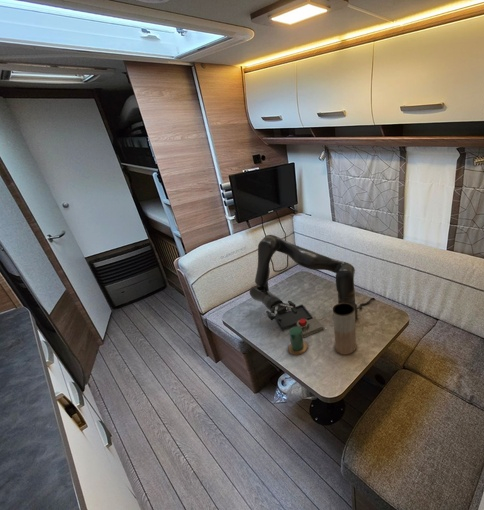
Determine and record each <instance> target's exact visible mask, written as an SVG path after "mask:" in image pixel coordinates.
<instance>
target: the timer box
mask: <svg viewBox="0 0 484 510" xmlns="http://www.w3.org/2000/svg"><path fill="white" fill-rule="evenodd" d="M305 320H306V319H305ZM296 327H300V328H301V329H302V335H303V338H307V337H309V336H312V335H314V334H316V333H319V332H321V331H323V330H324V325H322V323H321V322H320V321H319V320H318V318H317V317H312V319H310V320H306V324H305V325H300V324H299V321H298V322H297V325H296Z"/></svg>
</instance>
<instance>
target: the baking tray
mask: <svg viewBox="0 0 484 510" xmlns="http://www.w3.org/2000/svg"><path fill="white" fill-rule="evenodd" d="M296 310H297V314H296V315H295V314H294V313H293V312H292V311H289V312H283V313H281V314H279V315H278V316H279V317H280V318H281V321H282V322H278V324H279V326H280V327H281V329H282V330H283V331H286V330H287V329H288V330H289V329H291V328H293V327H297V322H298V321H299V320H300V319H306V320H310V319H313V316H312V314H311V312H309V311H308V309H307V308H306V307H305V306H304V304H300V305H297V306H296Z"/></svg>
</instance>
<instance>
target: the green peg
mask: <svg viewBox="0 0 484 510" xmlns="http://www.w3.org/2000/svg"><path fill="white" fill-rule="evenodd" d="M288 332H289V333H288V334H289V341H290V345H291V347H292V350H293V351H301V350H302V349H303V348H304V343H303V341H304V337H303V335H302V329H301V328H300V327H297V326H293V327H291V328H289V329H288Z"/></svg>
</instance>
